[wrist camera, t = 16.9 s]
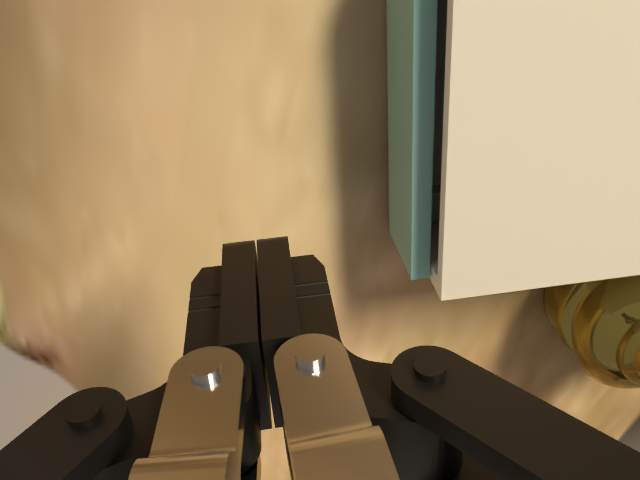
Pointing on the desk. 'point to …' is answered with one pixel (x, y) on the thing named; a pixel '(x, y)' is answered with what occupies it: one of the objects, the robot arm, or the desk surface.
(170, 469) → the robot arm
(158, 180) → the desk surface
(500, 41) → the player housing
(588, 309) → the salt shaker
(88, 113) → the desk surface
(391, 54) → the tray
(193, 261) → the desk surface
